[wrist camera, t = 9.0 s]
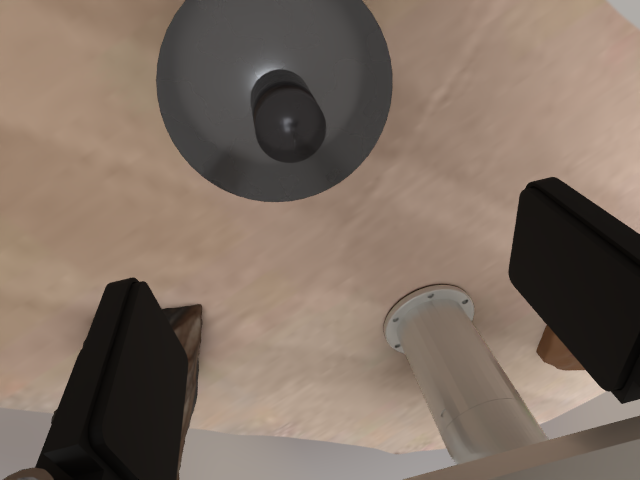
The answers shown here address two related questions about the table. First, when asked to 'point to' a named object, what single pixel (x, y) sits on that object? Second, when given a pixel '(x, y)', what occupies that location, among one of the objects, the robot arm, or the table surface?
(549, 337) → the plant
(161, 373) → the robot arm
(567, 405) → the table surface
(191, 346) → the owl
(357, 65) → the lid
